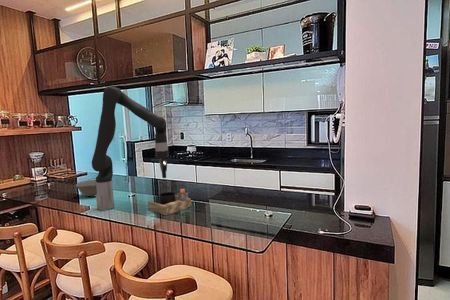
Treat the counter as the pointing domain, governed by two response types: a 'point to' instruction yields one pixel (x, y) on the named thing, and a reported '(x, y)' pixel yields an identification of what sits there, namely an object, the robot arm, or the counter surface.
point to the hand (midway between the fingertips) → (164, 177)
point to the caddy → (171, 205)
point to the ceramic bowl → (87, 187)
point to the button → (182, 191)
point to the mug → (167, 197)
